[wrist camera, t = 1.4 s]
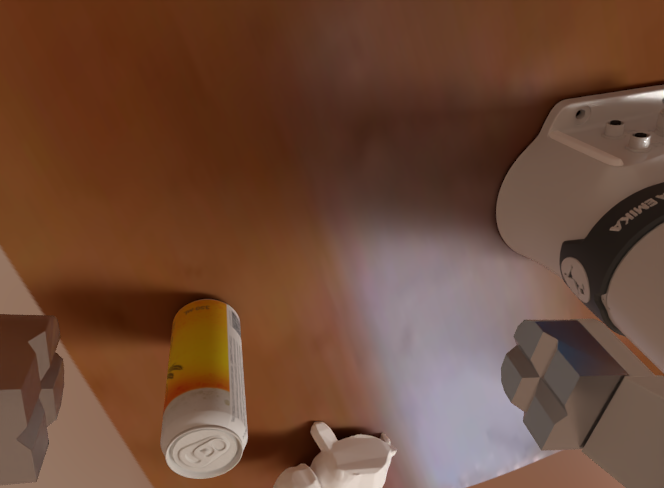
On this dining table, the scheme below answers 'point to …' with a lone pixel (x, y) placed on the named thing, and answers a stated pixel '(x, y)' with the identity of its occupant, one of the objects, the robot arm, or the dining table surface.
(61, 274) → the dining table surface
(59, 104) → the dining table surface
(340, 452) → the white low-poly figurine
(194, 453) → the beer can
